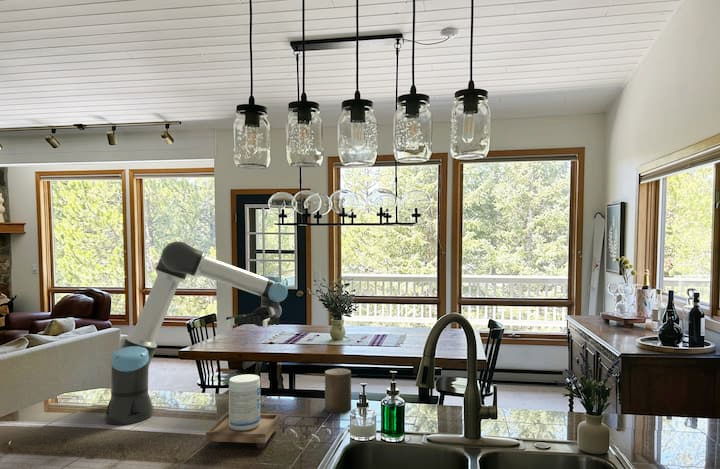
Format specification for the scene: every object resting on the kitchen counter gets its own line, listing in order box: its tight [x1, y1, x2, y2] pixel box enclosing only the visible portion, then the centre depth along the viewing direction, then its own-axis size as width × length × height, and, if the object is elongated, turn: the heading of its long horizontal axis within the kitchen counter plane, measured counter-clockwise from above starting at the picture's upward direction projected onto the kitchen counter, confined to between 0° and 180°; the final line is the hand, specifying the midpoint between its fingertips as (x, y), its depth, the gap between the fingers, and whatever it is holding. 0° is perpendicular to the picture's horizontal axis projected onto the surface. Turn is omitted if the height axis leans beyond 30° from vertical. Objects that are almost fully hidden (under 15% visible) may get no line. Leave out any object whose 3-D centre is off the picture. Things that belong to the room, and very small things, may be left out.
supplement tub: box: [228, 373, 262, 431], centre depth 141 cm, size 10×10×15 cm
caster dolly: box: [205, 412, 281, 450], centre depth 140 cm, size 18×16×5 cm
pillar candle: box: [324, 368, 352, 414], centre depth 167 cm, size 10×10×15 cm
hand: (245, 324), depth 162 cm, fingers open, 13 cm apart
